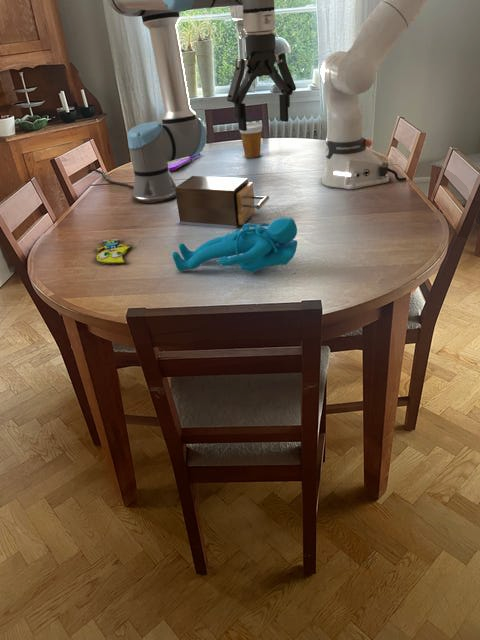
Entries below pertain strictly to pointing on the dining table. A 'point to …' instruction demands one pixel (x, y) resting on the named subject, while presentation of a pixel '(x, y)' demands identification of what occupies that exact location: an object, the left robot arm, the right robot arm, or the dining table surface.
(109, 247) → the toy
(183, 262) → the toy
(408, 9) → the right robot arm
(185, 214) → the cabinet
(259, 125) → the glass of beer
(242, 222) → the drawer
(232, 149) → the dining table surface
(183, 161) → the musical instrument
